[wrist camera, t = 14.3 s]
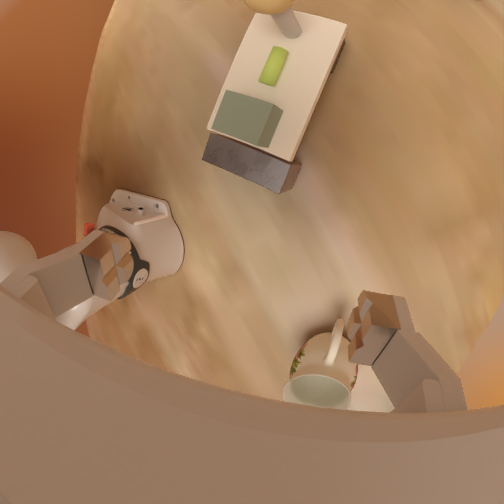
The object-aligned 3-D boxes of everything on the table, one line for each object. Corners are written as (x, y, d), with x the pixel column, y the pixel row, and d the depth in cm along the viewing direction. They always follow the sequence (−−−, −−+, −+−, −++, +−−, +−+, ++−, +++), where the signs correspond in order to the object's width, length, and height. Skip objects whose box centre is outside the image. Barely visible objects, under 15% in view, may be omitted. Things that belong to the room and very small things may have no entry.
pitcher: (375, 307, 41) (375, 362, 29) (346, 382, 48) (335, 436, 36) (312, 293, 45) (291, 342, 33) (294, 369, 51) (272, 420, 39)
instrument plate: (292, 161, 32) (252, 159, 20) (211, 129, 35) (144, 119, 23) (347, 29, 24) (336, -32, 12) (263, 9, 26) (219, -42, 14)
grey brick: (224, 158, 43) (201, 159, 37) (278, 24, 32) (263, 5, 26) (291, 188, 40) (278, 193, 34) (351, 44, 29) (348, 25, 23)
